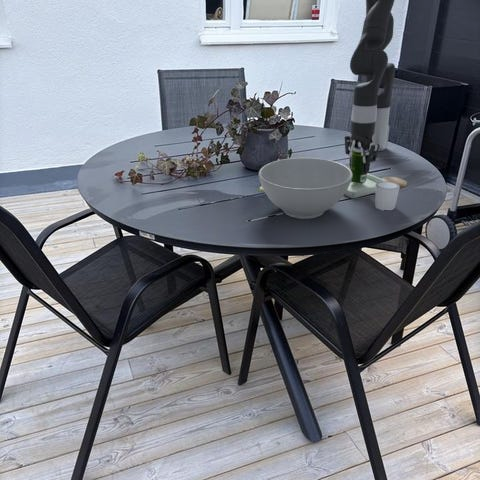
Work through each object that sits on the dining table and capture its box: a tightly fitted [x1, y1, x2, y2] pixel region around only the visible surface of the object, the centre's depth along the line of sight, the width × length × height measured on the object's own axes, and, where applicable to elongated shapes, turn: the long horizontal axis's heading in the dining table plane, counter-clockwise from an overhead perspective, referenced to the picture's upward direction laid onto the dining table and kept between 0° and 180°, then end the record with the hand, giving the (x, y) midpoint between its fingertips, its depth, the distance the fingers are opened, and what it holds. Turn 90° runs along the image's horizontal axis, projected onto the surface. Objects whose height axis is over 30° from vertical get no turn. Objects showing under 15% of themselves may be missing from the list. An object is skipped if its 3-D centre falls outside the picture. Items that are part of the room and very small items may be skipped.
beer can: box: [349, 146, 369, 185], centre depth 150 cm, size 5×5×12 cm
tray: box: [343, 172, 386, 200], centre depth 153 cm, size 16×14×2 cm
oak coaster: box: [381, 176, 408, 189], centre depth 155 cm, size 9×9×1 cm
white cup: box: [374, 181, 401, 211], centre depth 137 cm, size 7×7×7 cm
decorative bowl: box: [258, 157, 353, 220], centre depth 135 cm, size 27×27×12 cm
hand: (358, 170), depth 151 cm, fingers closed on beer can, 5 cm apart
